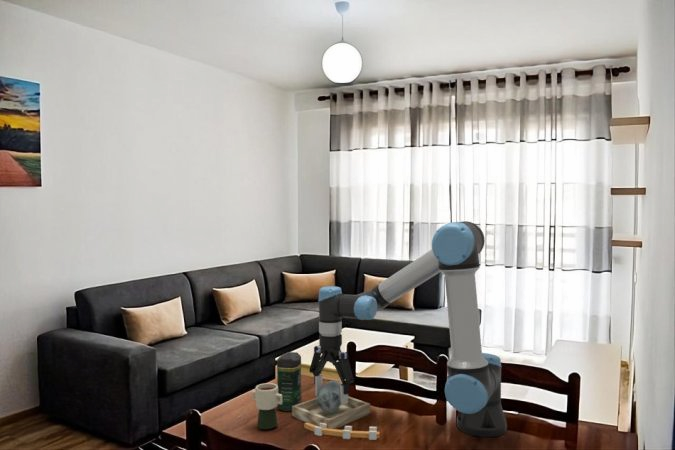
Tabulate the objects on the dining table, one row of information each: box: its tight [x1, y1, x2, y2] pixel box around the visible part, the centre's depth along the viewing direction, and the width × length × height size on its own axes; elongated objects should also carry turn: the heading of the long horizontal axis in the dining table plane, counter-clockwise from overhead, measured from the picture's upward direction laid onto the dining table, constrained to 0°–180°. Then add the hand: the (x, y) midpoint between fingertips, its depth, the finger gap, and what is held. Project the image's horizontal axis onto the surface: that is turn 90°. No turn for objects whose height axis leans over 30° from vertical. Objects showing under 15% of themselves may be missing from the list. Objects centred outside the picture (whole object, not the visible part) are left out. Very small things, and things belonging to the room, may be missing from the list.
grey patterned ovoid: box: [316, 380, 342, 414], centre depth 178 cm, size 14×10×10 cm
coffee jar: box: [276, 351, 303, 412], centre depth 186 cm, size 10×8×19 cm
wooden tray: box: [291, 395, 371, 430], centre depth 178 cm, size 17×19×4 cm
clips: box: [313, 423, 378, 441], centre depth 163 cm, size 19×5×2 cm, turn 78°
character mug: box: [251, 382, 283, 430], centre depth 169 cm, size 11×7×13 cm, turn 68°
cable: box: [303, 422, 380, 439], centre depth 164 cm, size 24×4×1 cm, turn 71°
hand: (331, 398), depth 178 cm, fingers open, 11 cm apart
